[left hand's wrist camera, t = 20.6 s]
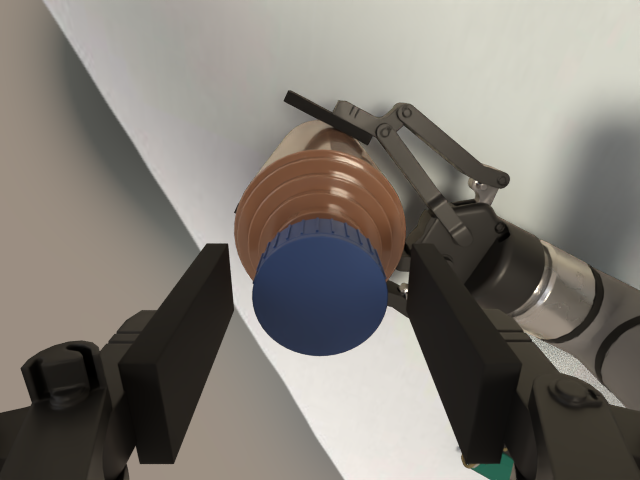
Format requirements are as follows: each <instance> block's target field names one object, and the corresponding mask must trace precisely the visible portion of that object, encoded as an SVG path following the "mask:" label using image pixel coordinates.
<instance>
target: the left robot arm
mask: <svg viewBox="0 0 640 480" xmlns="http://www.w3.org/2000/svg"><path fill="white" fill-rule="evenodd" d="M233 312H234V304H233V293H232V282H231V271H230V260H229V249H228V244H206V245H205V247H204V248H203V249H202V251H201V252H200V253H199V255H198V256H197V257H196V259H195V260H194V261H193V263H192V264H191V265H190V267H189V268H188V269H187V271H186V272H185V273H184V275H183V276H182V278H181V279H180V280H179V282H178V283H177V284H176V286H175V287H174V288H173V290H172V291H171V292H170V294H169V295H168V296H167V298H166V299H165V300H164V302H163V303H162V305H161V306H160V307H159V309H158V310H142V311H140V312H138V313H137V314H135V315H134V316H132V317H131V318H129V319H127V320H126V321H125V322H124V324H123V325H122V326H121V327H120V328H119V329H118V331H117V334H114V335H113V337H112V338H111V339H110V340H109V343H108V344H106V345H105V346H104V347H103V348H102V350H101V351H99V347H98V346H96V345H95V344H94V343H93V342H87V341H70V342H66V343H62V344H58V345H54V346H52V347H50V348H47V349H45V350H43V351H40V352H39V353H37V354H36V355H34V356H33V357H31V358H30V359H28V360H27V362H26V363H25V364H24V365H23V366H22V367H21V371H22V374H23V377H24V380H25V383H26V386H27V389H28V392H29V395H30V398H31V401H32V404H31V406H29V407H25V408H21V409H16V410H12V411H7V412H2V413H0V480H129V473H128V468H127V464H126V463H127V461H128V459H129V457H130V455H131V453H132V452H133V450H134V448H135V446H136V449H137V453H138V458H139V462H140V464H174V462H175V460H176V457H177V454H178V452H179V449H180V447H181V444H182V442H183V439H184V437H185V434H186V431H187V429H188V426H189V424H190V421H191V419H192V416H193V414H194V411H195V408H196V406H197V403H198V401H199V398H200V396H201V393H202V391H203V388H204V385H205V383H206V381H207V378H208V375H209V373H210V370H211V368H212V365H213V363H214V360H215V358H216V355H217V352H218V350H219V347H220V345H221V342H222V340H223V337H224V334H225V332H226V329H227V327H228V324H229V322H230V319H231V317H232V314H233ZM406 312H407V314H408V317H409V319H410V322H411V324H412V327H413V329H414V332H415V335H416V337H417V340H418V342H419V345H420V347H421V350H422V352H423V355H424V358H425V360H426V363H427V365H428V368H429V370H430V373H431V375H432V378H433V381H434V383H435V386H436V388H437V391H438V393H439V396H440V398H441V401H442V403H443V406H444V409H445V411H446V414H447V416H448V419H449V421H450V424H451V426H452V429H453V432H454V434H455V437H456V439H457V442H458V444H459V447H460V449H461V452H462V454H463V457H464V460H465V462H466V464H500V462H501V458H502V453H503V449H504V444H505V446H506V448H507V449H508V451H509V453H510V455H511V457H512V459H513V461H514V464H513V468H512V472H511V476H510V480H640V411H637V410H632V409H628V408H623V407H618V406H614V405H611V404H609V403H608V402H607V400H606V399H605V398H604V396H603V395H602V394H601V393H600V392H599V391H598V390H597V389H595V388H594V387H593V386H591V385H590V384H588V383H586V382H584V381H582V380H580V379H578V378H576V377H573V376H569V375H566V374H563V373H560V372H559V371H558V370H557V369H556V368H555V367H554V365H553V364H552V363H551V362H550V361H549V359H548V358H547V357H546V356H545V355H544V354H543V352H542V351H541V350H540V349H539V348H538V347H537V345H536V344H535V343H534V342H532V340H531V338H530V337H529V336H528V335H527V334H526V333H524V330H523V329H522V328H521V327H520V325H519V324H518V323H517V322H516V321H515V320H514V319H513V318H512V317H510V316H509V315H507V314H505V313H504V312H502V311H501V310H499V309H482V308H481V307H480V306H479V304H478V303H477V302H476V300H475V299H474V298H473V296H472V295H471V294H470V292H469V291H468V290H467V288H466V287H465V286H464V284H463V283H462V282H461V280H460V279H459V278H458V276H457V275H456V273H455V272H454V271H453V269H452V268H451V267H450V265H449V264H448V263H447V261H446V260H445V259H444V257H443V256H442V255H441V253H440V252H439V251H438V249H437V248H436V247H435V245H434V244H412V249H411V260H410V271H409V282H408V293H407V304H406Z"/></svg>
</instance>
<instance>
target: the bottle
mask: <svg viewBox="0 0 640 480" xmlns="http://www.w3.org/2000/svg"><path fill="white" fill-rule="evenodd" d="M318 217H319V219H331V218H332V219H333V220H336V221H339V222H342V223H345V222H346V223H347V225H349V226H351V227H353V228H355V229H356V230H357V229H359V231H360V233H361V234H362V235H364V236H365V237H366V238H369V240H370V243H371V245H372V246H373V248H374V249H376V250H377V253H378V256H379V258H380V261H381V264H382V266H383V269H384V272H385V275H386V278H387V279H385V280H386V282H387V281H388V279H389V278H390V276H391V275H392V273H393V272H394V270H395V269H396V267H397V265H398V263H399V261H400V258H401V255H402V252H403V249H404V244H405V239H406V223H405V215H404V211H403V207H402V205H401V202H400V199H399V197H398V195H397V193H396V192H395V190H394V188H393V187H392V185H391V184H390V183H389V181H388V180H387V179H386V177H385V176H384V175H383V173H382V172H381V171H380V169H379V168H378V167H377V165H376V164H375V163H374V162H373V160H372V159H371V158H370V156H369V155H368V154H367V152H366V151H365V150H364V148H363V147H362V146H361V144H360V143H359V142H358V140H357V139H355V138H353V137H351V136H349V135H347V134H345V133H343V132H341V131H339V130H338V129H336V128H334V127H332V126H330V125H328V124H326V123H324V122H322V121H320V120H313V121H308V122H305V123H303V124H301V125H298V126H297V127H295V128H294V129H293V130H291V131H290V132H289V133H288V134H287V135H286V137H285V138H284V139H283V140H282V142H281V143H280V144H279V146H278V147H277V148H276V150H275V151H274V152H273V154H272V155H271V156H270V158H269V159H268V160H267V162H266V163H265V164H264V165H263V167H262V168H261V169H260V171H259V172H258V173H257V175H256V176H255V177H254V179H253V180H252V181H251V183H250V184H249V186H248V187H247V189H246V190H245V192H244V194H243V196H242V198H241V200H240V202H239V205H238V208H237V212H236V217H235V223H234V236H235V244H236V248H237V252H238V255H239V258H240V260H241V263H242V265H243V266H244V268H245V270H246V272H247V273H248V275H249V276H250V278H251V279H252V280H254V277H255V275H256V272H257V271H256V269H257V266H258V264H259V261H260V258H261V255H262V253H264V252H265V250H266V247H267V244H268V242H271V241H272V240H273V239H274V238H275V237H276V235H277V233H278V232H279V233H280V232H281V231H283V230H284V229H286V228H287V227H288V226H289V225H290V224H291V225H293V224H295V223H298V222H301V221H302V220H310V219H316V218H318Z"/></svg>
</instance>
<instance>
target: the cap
mask: <svg viewBox="0 0 640 480" xmlns="http://www.w3.org/2000/svg"><path fill="white" fill-rule="evenodd" d="M256 271H257V272H256V275H255V277H254V280H253V284H254V285H253V291H252V300H253V307H254V311H255V314H256V317H257V319H258V321H259V323H260V324H261V326H262V328H263V329H264V330H265V331H266V333H267V334H268V335H269V336H270V337H271V338H272V339H273V340H275V341H276V342H277V343H279V344H280V345H282V346H284V347H285V348H287V349H289V350H292V351H294V352H297V353H301V354H305V355H311V356H329V355H336V354H339V353H343V352H346V351H348V350H351V349H353V348H355V347H357V346H359V345H360V344H361V343H363V342H364V341H366V340H367V339H368V338H369V337H370V336H371V335H372V334H373V333H374V332H375V331H376V329H377V328H378V326H379V325H380V323H381V321H382V319H383V317H384V315H385V312H386V309H387V303H388V289H387V284H386V280H385V279H387V278H386V275H385V272H384V269H383V266H382V264H381V261H380V258H379V256H378V253H377V250H376V249H374V248H373V246H372V245H371V243H370V240H369V238H366V237H365V236H364V235H362V234H361V233H360V231H359V229H357V230H356V229H355V228H353V227H351V226H349V225H347V223H346V222H345V223H342V222H339V221H336V220H333V219H332V218H331V219H319V217H318V218H316V219H310V220H302V221H301V222H298V223H295V224H293V225H291V224H290V225H289V226H288V227H287V228H286V229H284V230H283V231H281V232H280V233H279V232H278V233H277V235H276V237H275V238H274V239H273V240H272V241H271V242H268V244H267V247H266V250H265V252H264V253H262V255H261V258H260V261H259V264H258V266H257V269H256Z"/></svg>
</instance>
